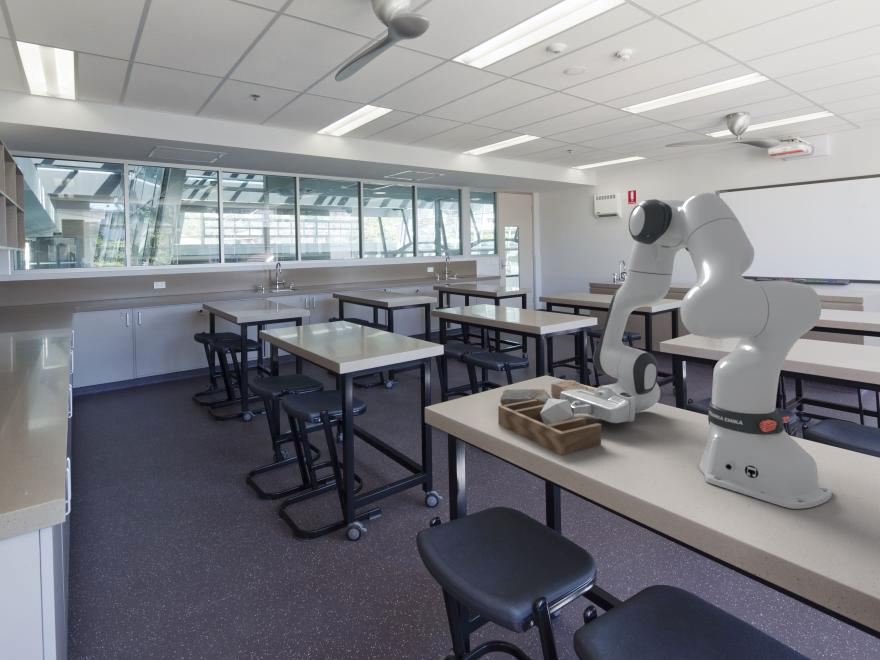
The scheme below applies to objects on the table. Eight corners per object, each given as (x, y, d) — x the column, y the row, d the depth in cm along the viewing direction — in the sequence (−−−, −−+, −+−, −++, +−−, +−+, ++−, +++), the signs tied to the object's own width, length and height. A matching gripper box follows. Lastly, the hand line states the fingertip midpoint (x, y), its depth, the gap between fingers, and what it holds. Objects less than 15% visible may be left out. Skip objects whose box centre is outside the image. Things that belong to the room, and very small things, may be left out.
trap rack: (600, 444, 122) (601, 424, 121) (561, 455, 116) (561, 434, 116) (534, 416, 144) (534, 399, 143) (498, 424, 138) (498, 406, 137)
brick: (605, 406, 152) (606, 391, 151) (582, 410, 149) (582, 394, 148) (571, 393, 167) (571, 379, 167) (549, 396, 164) (549, 382, 164)
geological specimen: (500, 389, 155) (550, 387, 153) (501, 408, 156) (551, 407, 154) (499, 398, 145) (553, 396, 143) (500, 419, 146) (554, 417, 143)
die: (558, 440, 127) (581, 408, 127) (530, 419, 130) (552, 388, 130) (562, 441, 135) (583, 411, 134) (535, 421, 138) (556, 391, 138)
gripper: (582, 381, 148) (544, 388, 142) (640, 398, 130) (599, 407, 124) (582, 403, 149) (544, 410, 143) (639, 423, 131) (598, 432, 125)
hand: (570, 409), depth 133 cm, fingers closed
